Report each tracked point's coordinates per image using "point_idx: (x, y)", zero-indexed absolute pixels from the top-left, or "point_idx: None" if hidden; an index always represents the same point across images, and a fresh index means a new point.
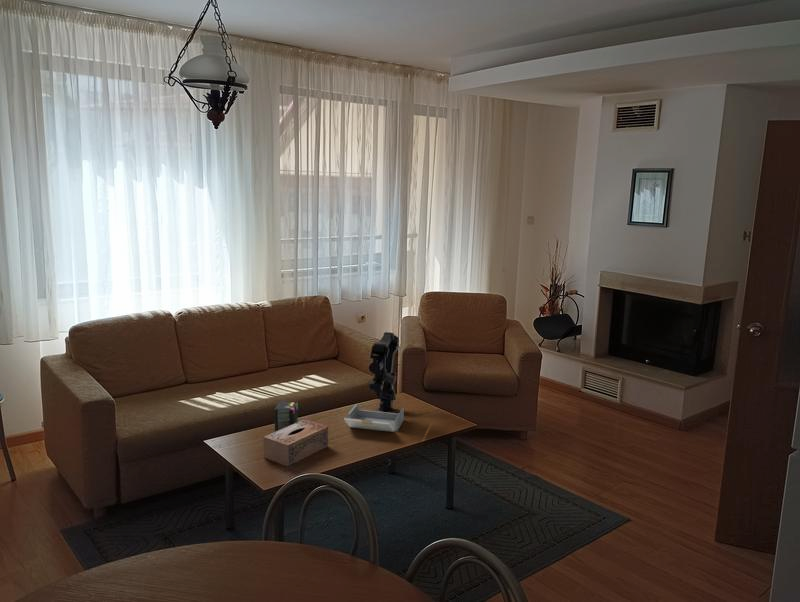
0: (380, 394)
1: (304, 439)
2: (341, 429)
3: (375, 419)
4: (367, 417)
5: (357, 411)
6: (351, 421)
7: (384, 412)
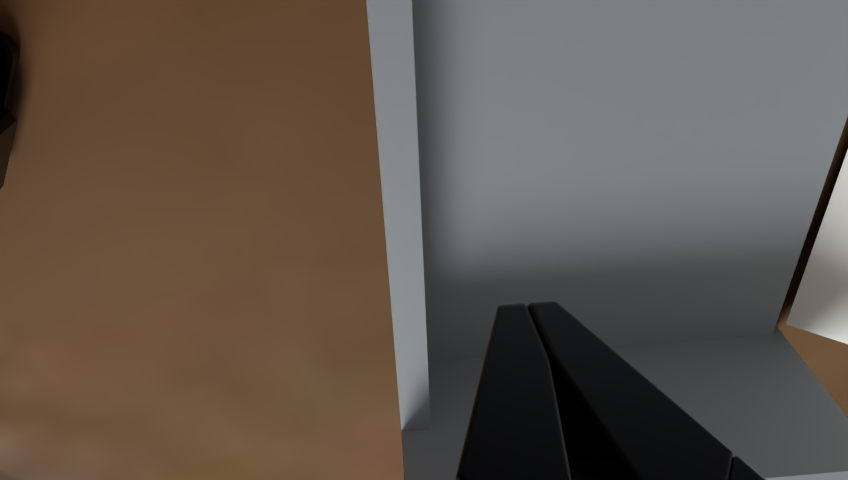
0: (660, 391)
1: None
2: (826, 368)
3: (482, 110)
4: (433, 242)
5: (433, 412)
6: None
7: (388, 5)
